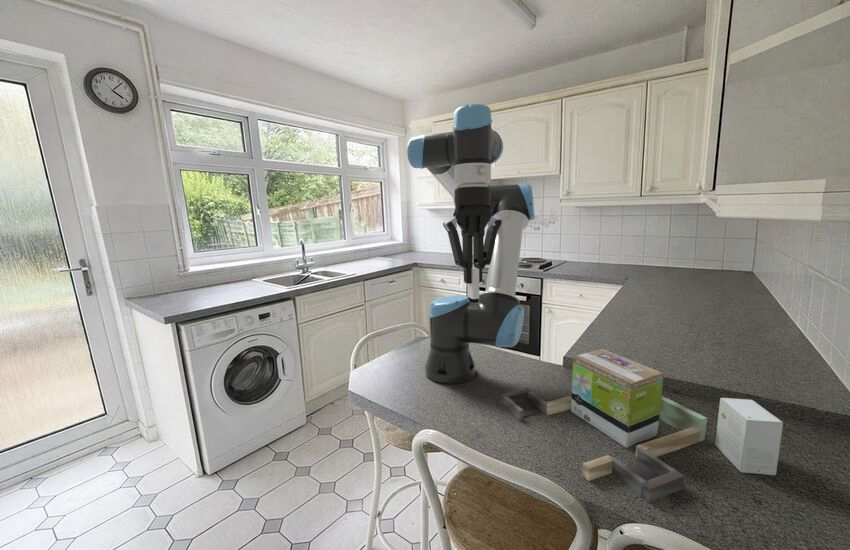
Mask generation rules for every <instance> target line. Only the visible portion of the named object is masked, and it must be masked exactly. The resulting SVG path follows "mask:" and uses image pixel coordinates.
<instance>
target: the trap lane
mask: <svg viewBox="0 0 850 550" xmlns="http://www.w3.org/2000/svg"><path fill="white" fill-rule="evenodd" d="M500 404H501V406H502V407H504V408H505V409H506V411H508V412H509V413H510V414H511V415H512V416H513V417H515V419H517V420H518V421H523V420H524V418H525V417H526V418H527V417H530V416H534V415H538V414H541V413H542V414H543V415H547V416H552V415H555V414H560V413H563V412H567V411H571V395H570V396H569V395H568V396H566V397H561V398H557V399H553V400H550V401H545V400H544V399H543V398H541V397H540V396H539V395H537V394H536V392H533V391H532V390H530V389H529V388H524V389H519V390H515V391H510V392H506V393H502V394H500ZM659 421H662V422H664V423H665V424H667V425H669V426H671V427H672V428H674V429H676V430H678V431H676V432H673V433H670V434H668V435H664V436H661V437H658V438H654V439H652V440H649V441H646V442H644V443H643V442H642V443H639V444H636V445H635V453H634V455H635V456H634V457H635V458H636V461H637V462H635V463H633V464H630V465H626V464H624V463H623V462H621V461H620V460H619V459H617V458H616V457H615V456H611V455H609V454H607V455H603V456H601V457H598V458H595V459H591V460H589V461H585V462H583V463H582V470H581V471H582V472H581V476H582V477H583V478H584V479H585V480H586V481H588V482H590V481H593V480H597V479H598V478H602V477H605V476H607V475H610V474H613V475H614V476H615V477H616V478H617V479H619V480H620V481H621V482H623V483H624V484H625V485H626V486H628V487H629V488H630V489H631V490H633V491H634V492H635V493H636V494H637V495H639V496H640V497H641V498H643V499H644V501H646V502H647V503H652V502H654V501H657V500H658V499H661V498H663V497H666V496H668V495H671V494H675V493H676V492H678V491H681V490H683V489H684V481H685V475H683V474H682V473H680V471H678V470H676V469H675V468H674V467H672V466H670V465H669V464H667V463H666V462H664V461H663V460H661V459H659V457H660V456H663V455H667V454H669V453H672V452H675V451H678V450H680V449H681V450H682V449H683V448H687V447H689V446H692V445H694V444H698V443H700V442H703V441H705V440H706V431H707V422H708V418H707V417H706V416H704V415H702V414H700V413H698V412H696V411H694V410H692V409H691V408H688V407H686V406H683V405H682V404H681V403H680V404H679V403H677V402H676V401H673V400H671V399H670V398H668V397H665V396H663V395H662V396H661V406H660V416H659Z"/></svg>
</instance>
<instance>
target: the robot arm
mask: <svg viewBox="0 0 850 550" xmlns="http://www.w3.org/2000/svg"><path fill="white" fill-rule="evenodd" d="M452 123H453V124H452V125H453V126H452V130H453V131H449V132H438V133H431V134H422V135H416V136H413V137H410V138H409V140H408V143H407V149H406V155H407V160H408V163H409V165H410V166H411V167H412V168H413V169H414V168H415V169H422V170H423V169H425V168H426V169H427V171H429V172H430V173H431V174H432V176H433V177H434V178H435V179H436V181H438V182H439V183H440V185H441V186H442V187H443V188H444V189H445V191H447V193H448V194H449V195H450V196H451V197H452V199H453V203H454V211H453V214H452V218H450V219H448V220H447V221H444V222H443V223H442V226H443V227H444V229H445V231H446V232H447V235H448V241H449V243H450V247H451V251H452V255H453V260H454V263H455V265H456V266H458V267H461V268H463V282H464V283H465V284H467V288H466V289H467V290H466V291H467V293H466V294H467V295H462V294H460V295H459V294H457V295H447V296H443V297H439V298H436V299H434V300H432V302H430V305H429V314H428V318H429V319H428V321H429V347H430V348H429V352H428V355H427V357H426V361H425V365H424V370H425V371H424V372H425V376H426V378H427V379H429V380H431V381H433V382H436V383H441V384H447V385H448V384H449V385H450V384H459V383H460V384H461V383H465V382H467V381H470V380H471V379H473V378H474V377H475V375H476V365H475V361H474V358H473V355H472V353H471V349H470V344H477V345H484V346H492V347H496V348H501V347H503V348H514V347H515V346H517V344H518V342H519V341H520V338H521V335H522V331H523V327H524V326H523V325H524V318H525V309H524V308H525V307H523V306H522V305H521V303H520V299H519V298H518V297H517V296H516V290H517V289H516V288H517V281H518V272H519V264H520V256H521V249H522V240H523V239H522V238H523V231H524V230H525V229H526V228H527V227H528V226H529V222H530V221H532V220H534V219H535V207H534V206H535V205H534V204H535V203H534V196H533V188H532V186H531V185H530V184H528V183H516V184H501V185H499V184H496V185H490V184H491V183H492V164H494V163H496V162H497V161H498V160H500V159H501V156H502V154H503V151H504V142H503V139H502V137H501V135H500V133H498V132H497V130H495V129H493V128H492V123H493V119H492V112H491V108H490V107H489V106H488V105H486V104H482V103H481V104H480V103H472V104H465V105H461V106H459V107H458V108H456V109H455V110H454V112H453V122H452ZM487 226H488V227H487ZM486 227H487V230H486ZM457 228H460V230H461V233H460V234H461V238H462V239H461V240H462V241H460V236H459V232H458V229H457ZM485 230H486V231H485ZM484 236H485V237H484ZM461 243H462V244H461ZM488 265H489V266H488ZM486 266H488V271H487V272H488V273H487V277H486V278H487V279H486V285H485V291H483V292H481V293H480V283H483V270H484V269H485V268H486ZM469 298H470V299H472V300H477V301H478V302H474V301H473V302H471V301H470V299H469Z"/></svg>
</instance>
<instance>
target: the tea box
mask: <svg viewBox="0 0 850 550" xmlns="http://www.w3.org/2000/svg"><path fill="white" fill-rule="evenodd" d="M572 357H573V359H572V373H571V374H572V376H571V377H572V380H571V395H570V396H571V410H570V412H571V413H573V414H574V415H575V416H577V417H578V418H581V419H582V420H583V421H585V422H586V423H588V424H590V425H591V426H593V427H594V428H595V429H597V430H598V431H600V432H602V433H603V434H605V435H607V436H608V437H609V438H611V439H612V440H613V441H615V442H617V443H618V444H619V443H620V445H621V446H622V445H623V446H622V447H623V448H625V447H626V448H625V449H627V448H630V447H633V446H635V445H637V444H636V443H638V444H640V443H643V442H644V440H645V441H647V440H649V439H651V438H654V437H655V436H657V435H658V431H659V424H660V423H659V422H660V419H659V416H660V406H661V396H663V395H662V394H663V386H664V385H663V384H664V372H662V371H660V370H657V369H656V368H655V369H654V368H652V367H649V366H647V365H645V364H643V363H641V362H637V361H634V360H633V359H630V358H628V357H625V356H622V355H620V354H617V353H615V352H612V351H610V350H608V349H605V348H602V347H601V348H599V349H596V350H592V351H588V352H583V353H581V354H578V355H577V354H576V355H573V356H572ZM639 442H640V443H639ZM634 444H635V445H634ZM632 445H633V446H632Z"/></svg>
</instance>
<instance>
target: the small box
mask: <svg viewBox="0 0 850 550" xmlns="http://www.w3.org/2000/svg"><path fill="white" fill-rule="evenodd" d="M718 407H719V408H718V415H717V425H716V433H715V434H716V435H715V441H714V442H715V443H714V445H715V447H717V448H718V449H719V451H720V452H721V453H722V454H723V455H724V456H725V457H726V458H727V460H729V461H730V463H732V465H734V467H735V468H736V469H737V470H738V471H739V472H740V473H744V474H745V473H746V474H759V475H767V476H776V475H777V470H778V469H777V468H778V465H779V464H778V462H779V457H780V456H779V455H780V448H781V442H782V435H783V434H782V433H783V429H784V428H783V426H784V421H782V420H780V419H779V418H778V417H776V416H775V415H774V414H772V413H771V412H769V411H768V410H767V409H765V408H764V407H762V406H761V405H760V404H759V403H757V402H756V401H755V400H753V399H745V398H732V397H731V398H730V397H729V398H728V397H721V398H719V406H718Z"/></svg>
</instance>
